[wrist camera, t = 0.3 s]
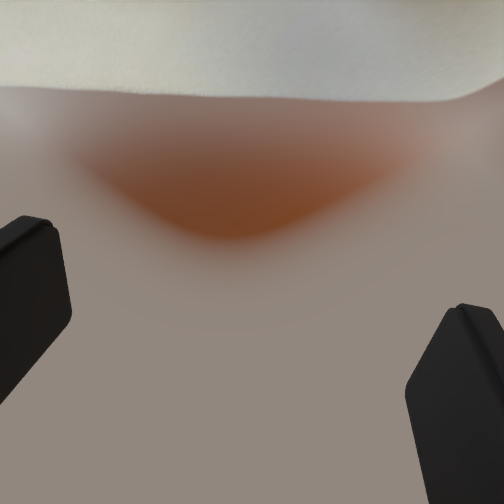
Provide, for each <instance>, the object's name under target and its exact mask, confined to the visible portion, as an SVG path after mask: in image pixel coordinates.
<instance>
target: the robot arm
mask: <svg viewBox="0 0 504 504" xmlns="http://www.w3.org/2000/svg"><path fill="white" fill-rule="evenodd" d="M71 316H72V308H71V302H70V296H69V290H68V285H67V278H66V272H65V266H64V260H63V255H62V249H61V243H60V237H59V232H58V230H57V229H56V228H55V227H53V225H52V223H51V222H50V221H49V220H46V219H41V218H36V217H31V216H20V217H18V218H17V219H15V220H14V221H12V222H10V223H9V224H7V225H6V226H4V227H3V228H1V229H0V404H1V403H2V402H3V401H4V400H5V399H6V397H7V396H8V395H9V394H10V393H11V391H12V390H13V389H14V388H15V387H16V385H17V384H18V383H19V382H20V381H21V379H22V378H23V377H24V376H25V375H26V374H27V372H28V371H29V370H30V369H31V367H32V366H33V365H34V364H35V363H36V362H37V361H38V359H39V358H40V357H41V356H42V354H43V353H44V352H45V351H46V350H47V348H48V347H49V346H50V345H51V344H52V342H54V340H55V339H56V338H57V337H58V335H59V334H60V333H61V332H62V331H63V330H64V328H65V327H66V326H67V325H68V323H69V321H70V319H71ZM405 399H406V404H407V408H408V413H409V417H410V421H411V426H412V431H413V435H414V439H415V444H416V448H417V453H418V457H419V462H420V466H421V470H422V474H423V479H424V483H425V488H426V493H427V497H428V502H429V504H504V330H503V329H502V327H501V325H500V323H499V322H498V320H497V318H496V317H495V315H494V314H493V312H492V311H491V310H490V309H488V308H483V307H479V306H474V305H469V304H463V303H462V304H459V305H458V306H457V307H456V308H450V309H448V311H447V312H446V314H445V315H444V317H443V319H442V321H441V323H440V325H439V327H438V328H437V330H436V332H435V334H434V335H433V337H432V339H431V341H430V343H429V344H428V346H427V348H426V350H425V352H424V353H423V355H422V357H421V359H420V361H419V363H418V364H417V366H416V368H415V370H414V372H413V373H412V375H411V377H410V379H409V381H408V382H407V385H406V389H405Z"/></svg>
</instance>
